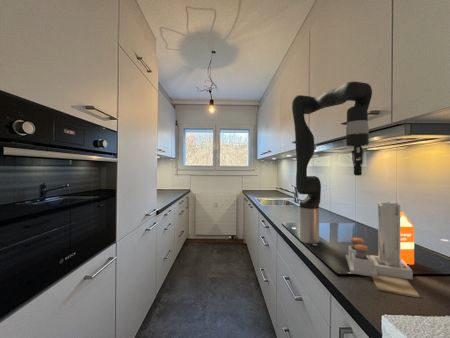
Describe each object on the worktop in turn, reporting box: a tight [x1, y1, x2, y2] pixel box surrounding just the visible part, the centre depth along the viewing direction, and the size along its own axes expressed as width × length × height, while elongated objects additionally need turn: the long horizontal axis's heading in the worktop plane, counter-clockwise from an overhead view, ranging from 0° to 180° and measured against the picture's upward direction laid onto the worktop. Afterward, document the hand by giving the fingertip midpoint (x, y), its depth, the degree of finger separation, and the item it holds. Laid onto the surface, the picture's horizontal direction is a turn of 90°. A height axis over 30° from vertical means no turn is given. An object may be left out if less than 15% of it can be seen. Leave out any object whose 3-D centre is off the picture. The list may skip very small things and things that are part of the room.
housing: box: [345, 245, 414, 281], centre depth 82 cm, size 15×18×5 cm
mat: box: [370, 274, 420, 298], centre depth 70 cm, size 10×10×1 cm
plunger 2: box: [354, 244, 369, 260], centre depth 80 cm, size 4×4×5 cm
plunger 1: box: [350, 237, 364, 250], centre depth 88 cm, size 4×4×5 cm
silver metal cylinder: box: [377, 200, 401, 268], centre depth 80 cm, size 6×6×25 cm
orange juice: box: [400, 211, 415, 265], centre depth 89 cm, size 8×9×20 cm
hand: (357, 175), depth 87 cm, fingers open, 8 cm apart
